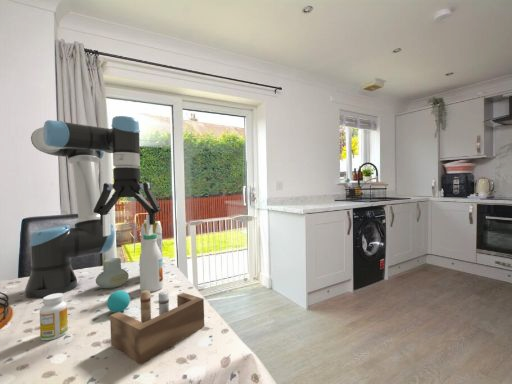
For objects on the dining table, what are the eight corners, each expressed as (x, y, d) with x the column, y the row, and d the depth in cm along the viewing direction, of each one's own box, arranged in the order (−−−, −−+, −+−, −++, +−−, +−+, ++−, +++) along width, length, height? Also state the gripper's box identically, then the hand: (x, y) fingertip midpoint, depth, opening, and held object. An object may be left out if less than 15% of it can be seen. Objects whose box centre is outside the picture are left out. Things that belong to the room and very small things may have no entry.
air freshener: (103, 293, 91) (102, 264, 91) (92, 288, 95) (91, 262, 95) (132, 283, 100) (131, 257, 100) (120, 279, 105) (120, 255, 105)
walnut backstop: (111, 345, 59) (110, 315, 59) (174, 314, 73) (173, 289, 73) (140, 364, 52) (139, 329, 52) (204, 325, 66) (203, 298, 66)
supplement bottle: (64, 326, 68) (63, 290, 68) (70, 333, 64) (69, 294, 64) (38, 336, 64) (36, 297, 64) (43, 343, 60) (42, 302, 60)
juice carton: (144, 273, 112) (142, 218, 112) (163, 271, 114) (161, 217, 114) (141, 280, 103) (139, 220, 103) (162, 278, 105) (160, 219, 105)
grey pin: (157, 326, 66) (156, 293, 66) (165, 322, 68) (164, 290, 68) (163, 329, 65) (162, 295, 65) (171, 325, 67) (170, 292, 67)
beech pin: (139, 324, 68) (138, 292, 68) (147, 320, 70) (146, 289, 70) (144, 327, 66) (143, 294, 66) (153, 323, 68) (152, 291, 68)
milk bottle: (155, 293, 89) (153, 235, 89) (135, 292, 91) (133, 235, 91) (167, 285, 97) (165, 232, 97) (148, 284, 98) (147, 232, 98)
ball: (103, 313, 75) (102, 292, 75) (123, 305, 80) (123, 286, 80) (113, 318, 72) (113, 296, 72) (134, 309, 77) (133, 289, 77)
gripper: (79, 167, 77) (80, 237, 77) (161, 165, 76) (162, 237, 76) (95, 169, 84) (97, 233, 85) (170, 167, 84) (171, 232, 84)
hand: (128, 235), depth 80 cm, fingers open, 13 cm apart
